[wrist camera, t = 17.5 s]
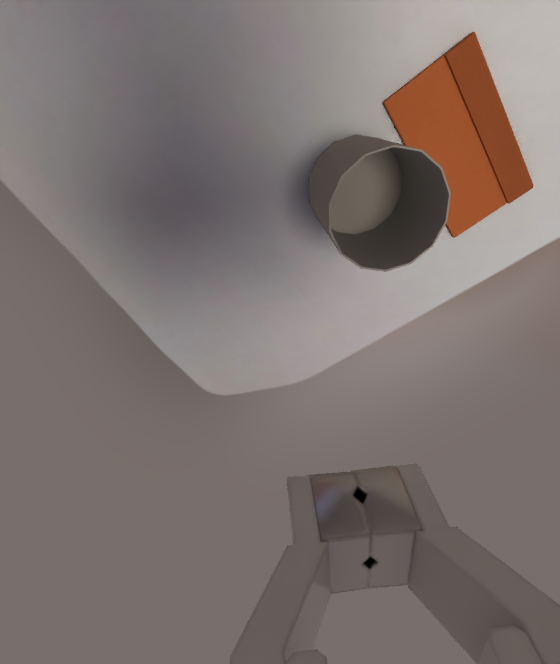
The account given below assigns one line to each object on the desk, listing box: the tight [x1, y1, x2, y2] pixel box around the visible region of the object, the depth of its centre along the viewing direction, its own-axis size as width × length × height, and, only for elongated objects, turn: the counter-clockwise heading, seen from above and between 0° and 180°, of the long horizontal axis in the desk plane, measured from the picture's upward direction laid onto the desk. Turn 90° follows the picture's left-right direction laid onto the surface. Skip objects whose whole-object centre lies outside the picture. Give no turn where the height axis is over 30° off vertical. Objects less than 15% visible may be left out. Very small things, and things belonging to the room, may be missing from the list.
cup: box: [309, 135, 451, 271], centre depth 32 cm, size 8×8×10 cm
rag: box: [383, 32, 533, 238], centre depth 35 cm, size 14×8×1 cm, turn 36°
